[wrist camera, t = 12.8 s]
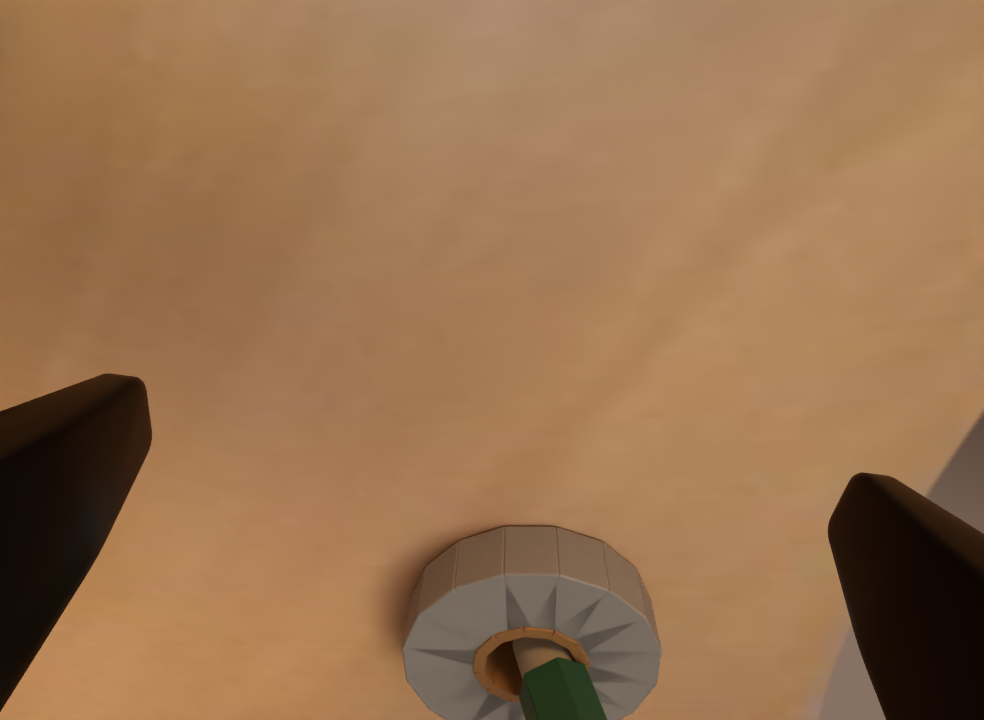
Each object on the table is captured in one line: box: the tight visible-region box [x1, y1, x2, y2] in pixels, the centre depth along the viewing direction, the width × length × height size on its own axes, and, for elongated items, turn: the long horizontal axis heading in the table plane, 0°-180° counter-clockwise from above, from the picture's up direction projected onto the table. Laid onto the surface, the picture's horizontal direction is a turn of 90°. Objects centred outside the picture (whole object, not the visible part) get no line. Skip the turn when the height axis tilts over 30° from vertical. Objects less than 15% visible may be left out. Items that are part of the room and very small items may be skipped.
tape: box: [402, 526, 662, 720], centre depth 28 cm, size 10×10×3 cm
